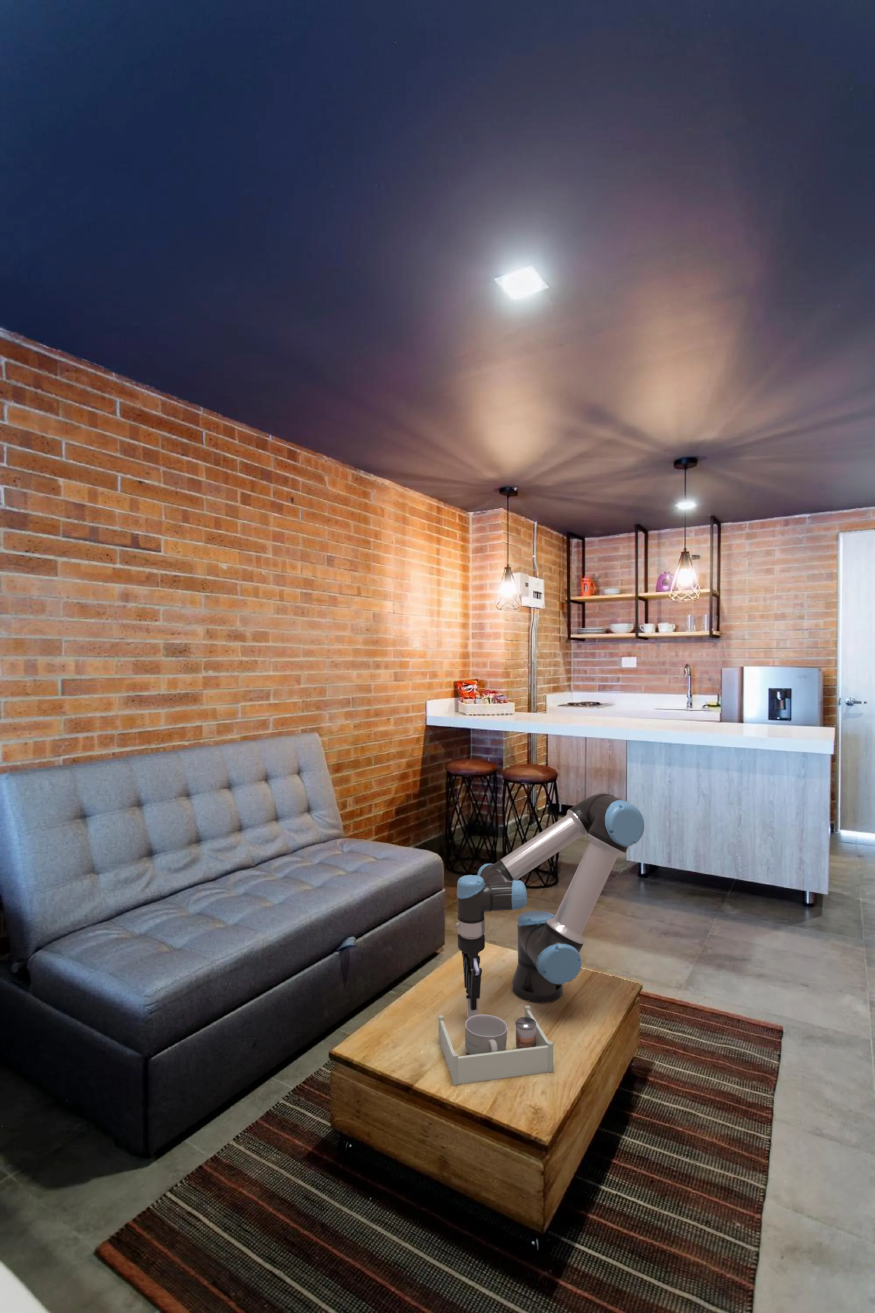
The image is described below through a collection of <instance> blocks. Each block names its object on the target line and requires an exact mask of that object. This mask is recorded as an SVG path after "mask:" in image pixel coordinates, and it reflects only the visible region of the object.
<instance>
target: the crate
mask: <svg viewBox="0 0 875 1313" xmlns="http://www.w3.org/2000/svg"><path fill="white" fill-rule="evenodd" d="M524 1017H529V1018H532V1019H533V1020H535V1022H536V1047H530V1048H522V1049H516V1048H514V1049H505V1051H498V1052H490V1053H483V1054H475V1055H470V1054H468V1055H458V1053H457V1052H455V1050H454V1047H453V1044H452V1042H451V1039H450V1035H449V1033H448V1030H447V1027H446V1025H445V1017H444V1015H443V1014H439V1015H438V1043H439V1045H440V1047H441V1050H442V1053H443V1056H444V1059H445V1062H446V1066H447V1069H448V1072H449V1074H450V1077H451V1083H452V1085H453V1086H458V1085H462V1084H463V1085H464V1084H469V1083H476V1082H486V1081H492V1080H493V1081H494V1080H499V1079H508V1078H514V1077H522V1076H530V1075H536V1074H543V1073H544V1074H545V1073H549V1074H550V1073H554V1043H553V1042H552V1040H550V1041H549V1039H548V1037H547V1036H546V1034H545V1033H544V1031H543V1030H542V1028H541V1026H540V1025H539V1023H538V1021H537V1020H536V1018H535V1017H534V1015H533V1013H532V1011H531V1006H530V1005H529V1004H528V1005H524Z"/></svg>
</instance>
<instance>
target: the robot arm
mask: <svg viewBox="0 0 875 1313" xmlns="http://www.w3.org/2000/svg"><path fill="white" fill-rule="evenodd" d="M644 831H645V821H644V818H643V815H642V813H641V811H640V810H639V809H638V808H637V807H636V806H635V805H633V804H632V803H630V802H629V801H626V800H623V799H621V798H618V797H617V796H614V795H613V794H609V793H605V792H602V793H596V794H593V795H591V796H589V797H587V798H585V799H583V800H581V801H580V802H578V803H577V804H574V805H573V806H572V807H570V808H569V809H568V810H567V811H566V815H565V816H564V817H562V818H560V819H558V821H556V822H554V823H553V824H551V825H550V826H548V827H547V828H545V829H544V830H542V831H541V832H540V833H538V834H536V835H535V836H534V837H532V838H531V839H529V840H528V841H526V842H525V843H523V844H522V845H520V846H519V847H517V848H516V849H515V850H513V851H512V852H510V853H508V854H507V855H505V856H504V857H502V858H501V859H500V860H498V861H497V862H495V863H484V864H483V865H481V867H480V868H479V869H478V871H477V875H476V874H475V875H473V874H468V875H467V874H466V875H463V876H461V877H459V878H458V880H457V882H456V883H457V884H456V885H457V886H456V887H457V888H456V900H457V901H456V904H457V905H456V906H457V907H456V908H457V922H455V927H457V933H458V934H457V948H458V950H459V951H461V957H462V967H463V969H462V970H463V981H464V982H463V983H464V984H463V985H464V989H465V993H466V995H465V999H466V1020H467V1019H468V1018H469V1017H471V1016H474V1015H479V1013H478V1011H479V1008H478V1007H479V1006H478V1004H479V1003H478V1001H479V999H480V998H481V986H482V985H481V983H482V973H483V968H482V967H480V964H481V957H480V955H479V954H480V952H482V951H483V950H484V949H485V947H486V942H485V941H486V939H485V938H486V935H485V932H486V924H485V923H486V918H485V913H487V912H498V911H499V912H500V911H501V912H502V911H515V910H518V909H519V910H520V909H523V908H525V907H526V906H527V904H528V903H527V902H528V891H527V887H526V885H525V883H524V882H523V881H522V880H519V879H520V878H522V877H524V876H526V875H527V874H528V873H529V872H531V871H532V870H534V869H535V868H537V867H538V866H540V865H541V864H543V863H544V862H545V861H548V859H550V858H551V857H553V856H554V855H556V854H558V853H559V852H560V851H562V850H563V849H564V848H566V847H568V846H570V845H571V844H572V843H573V842H575V841H577V840H578V839H580V838H583V837H584V838H587V837H588V840H589V843H588V845H587V847H586V849H585V851H584V853H583V856H582V858H581V859H580V861H579V864H578V866H577V869H576V871H575V873H574V875H573V877H572V879H571V880H570V884H569V885H568V887H567V890H566V892H565V894H564V896H563V898H562V900H561V903H560V905H559V906H558V909H557V911H556V913H555V914H553V913H552V912H549V911H542V910H532V911H531V910H530V911H525V912H522V913H520V914H519V915H518V917H517V924H516V927H517V965H516V969H515V972H514V974H513V978H512V983H511V984H512V986H511V987H512V992H513V993H514V995H516V997H518V998H520V999H522V1000H525V1001H528V1002H532V1003H551V1002H555V1001H556V1000H558V999H559V998H561V997H562V995H563V987H564V986H563V984H567V983H570V982H572V981H573V980H574V979H575V978H577V976H578V975H579V973H580V971H581V969H582V968H581V967H582V957H581V954H580V953H581V950H582V948H583V946H584V945H585V944H584V943H585V941H584V937H583V932H584V930H585V927H586V925H587V923H588V922H589V919H590V917H591V915H592V912H593V911H594V909H595V906H596V904H597V901H598V900H599V898H600V895H601V893H602V891H603V889H604V887H605V886H606V883H607V880H608V878H609V875H610V873H611V872H612V870H613V867H614V865H615V863H616V861H617V859H618V857H620V856H624V855H625V854H626V852H627V851H628V849H629V847H630V846H631V847H632V846H633V845H634V844H637V843H638V842H639V841H640V840H641V838H642V837H643V835H644Z"/></svg>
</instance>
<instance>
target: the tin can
mask: <svg viewBox="0 0 875 1313" xmlns="http://www.w3.org/2000/svg"><path fill="white" fill-rule="evenodd" d="M535 1020H536V1019H535ZM535 1020H533V1019H532V1018H529V1017H525V1016H522V1017H519V1018H516V1019H515V1049H522V1048H530V1047H536V1022H535Z"/></svg>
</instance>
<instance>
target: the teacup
mask: <svg viewBox="0 0 875 1313" xmlns="http://www.w3.org/2000/svg"><path fill="white" fill-rule="evenodd" d="M507 1037H508V1024H507V1022H506V1021H505V1020H503V1019H502V1018H500V1017H498V1016H496V1015H491V1014H483V1013H481V1014H478V1015H474V1016H471V1017H469V1018H468V1019H467V1018H466V1020H465V1022H464V1045H465V1049H466V1052H467V1053H468V1055H475V1054H483V1053H490V1052H498V1051H506V1050H507V1049H506V1048H507V1039H508V1038H507Z"/></svg>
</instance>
